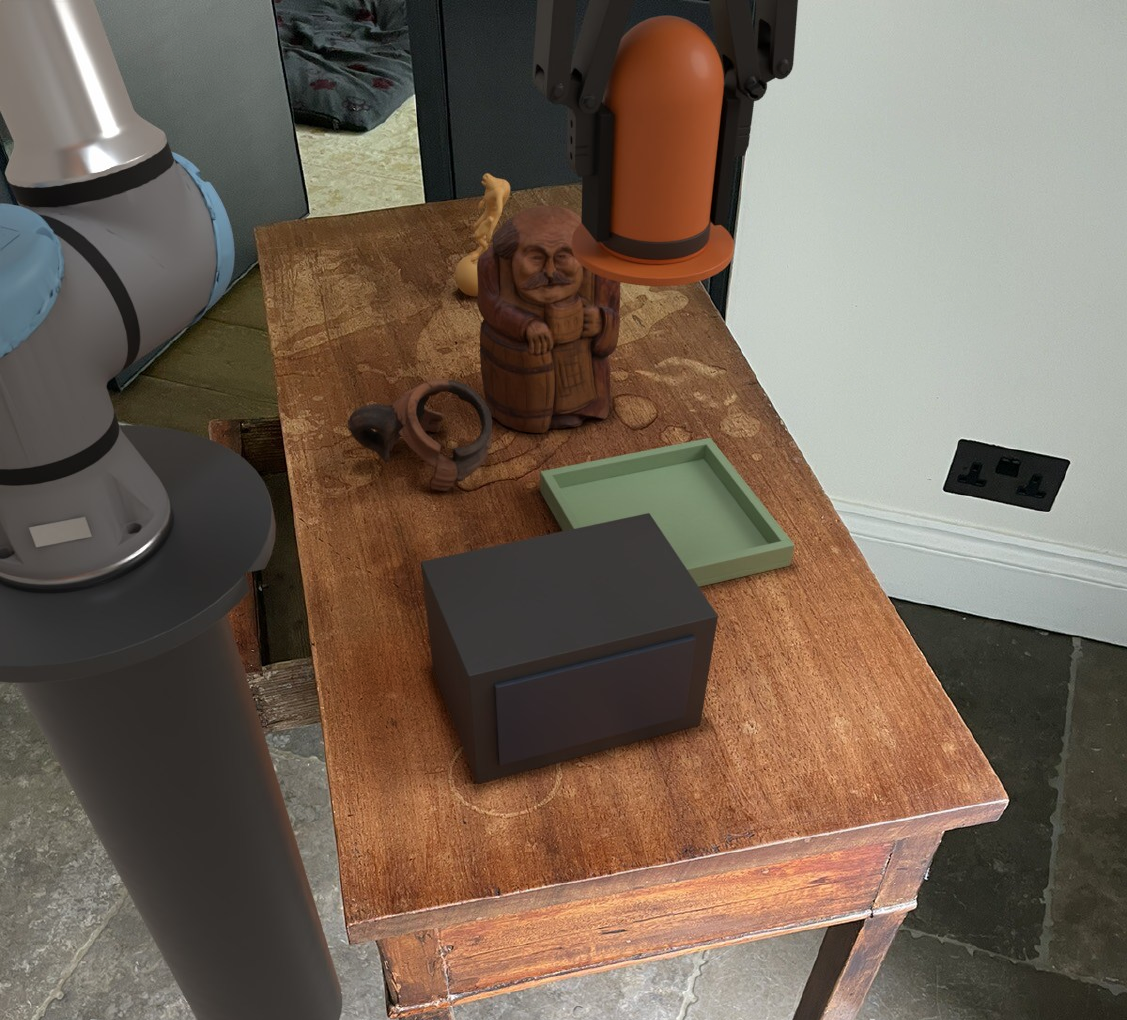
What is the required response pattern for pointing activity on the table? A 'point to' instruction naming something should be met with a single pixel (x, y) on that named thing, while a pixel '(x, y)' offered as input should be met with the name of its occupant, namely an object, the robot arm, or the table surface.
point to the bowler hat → (662, 160)
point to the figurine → (482, 232)
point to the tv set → (567, 644)
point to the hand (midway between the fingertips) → (653, 222)
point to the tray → (676, 507)
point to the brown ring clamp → (415, 419)
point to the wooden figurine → (544, 325)
